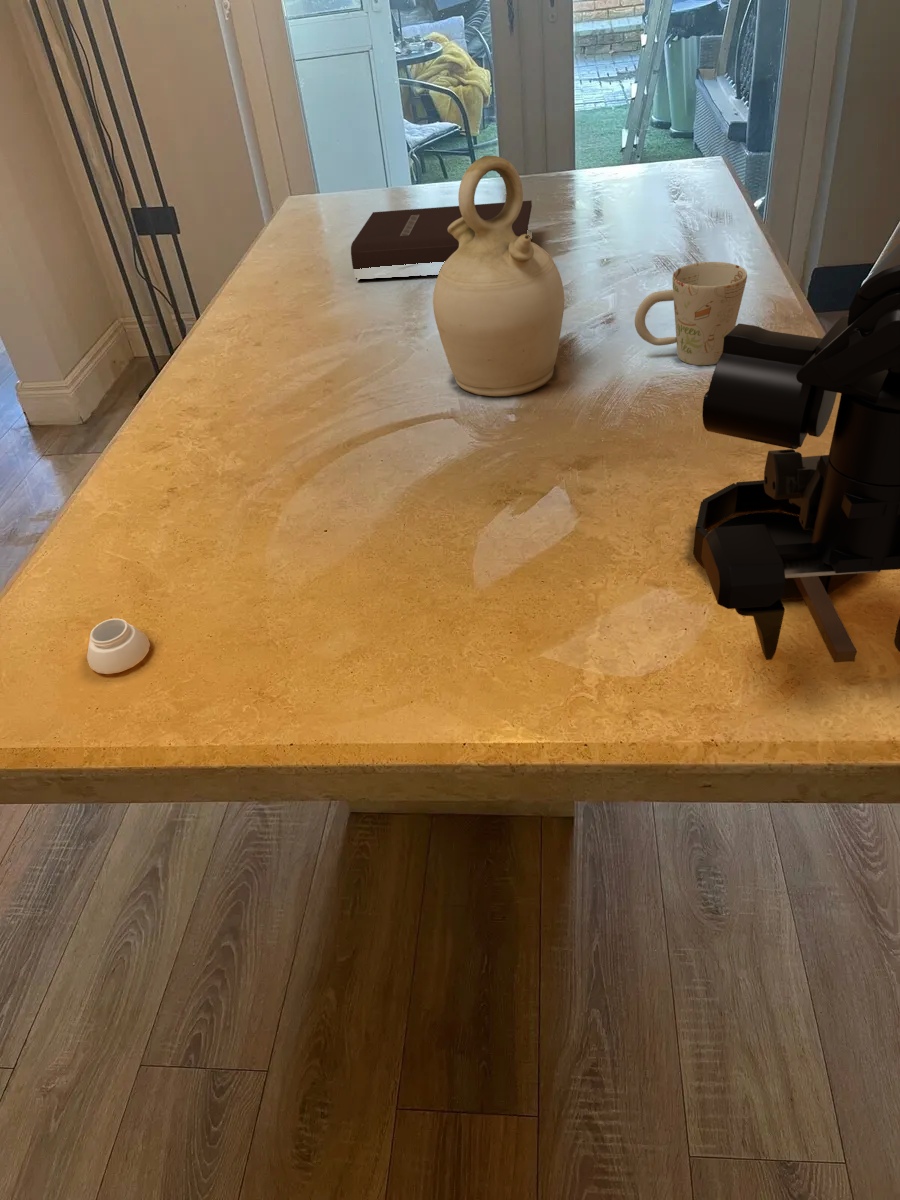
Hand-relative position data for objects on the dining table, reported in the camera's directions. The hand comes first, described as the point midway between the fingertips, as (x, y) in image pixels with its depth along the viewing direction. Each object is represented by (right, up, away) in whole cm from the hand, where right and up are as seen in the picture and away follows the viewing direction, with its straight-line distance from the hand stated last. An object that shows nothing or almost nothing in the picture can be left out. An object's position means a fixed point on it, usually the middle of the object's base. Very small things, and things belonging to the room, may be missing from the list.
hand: (832, 651), depth 61 cm
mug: (+2, +34, +44) cm, 56 cm away
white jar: (-55, -1, +11) cm, 56 cm away
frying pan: (+1, +5, +9) cm, 10 cm away
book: (-28, +61, +83) cm, 107 cm away
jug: (-21, +32, +46) cm, 59 cm away
